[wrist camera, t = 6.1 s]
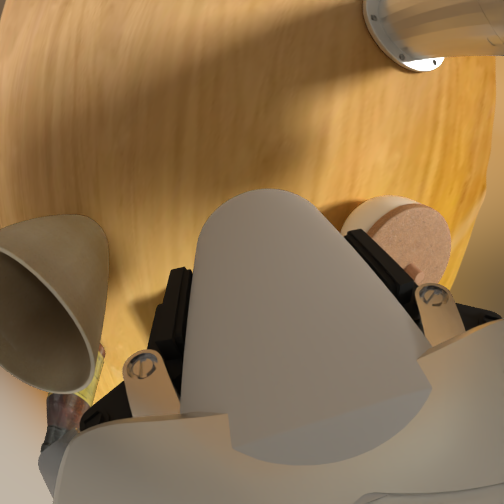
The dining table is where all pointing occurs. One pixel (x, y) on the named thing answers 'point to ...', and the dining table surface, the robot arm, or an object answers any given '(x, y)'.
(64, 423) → the sauce bottle
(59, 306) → the plant pot
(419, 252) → the lidded bowl
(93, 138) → the dining table surface
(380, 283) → the beverage can
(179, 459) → the robot arm
